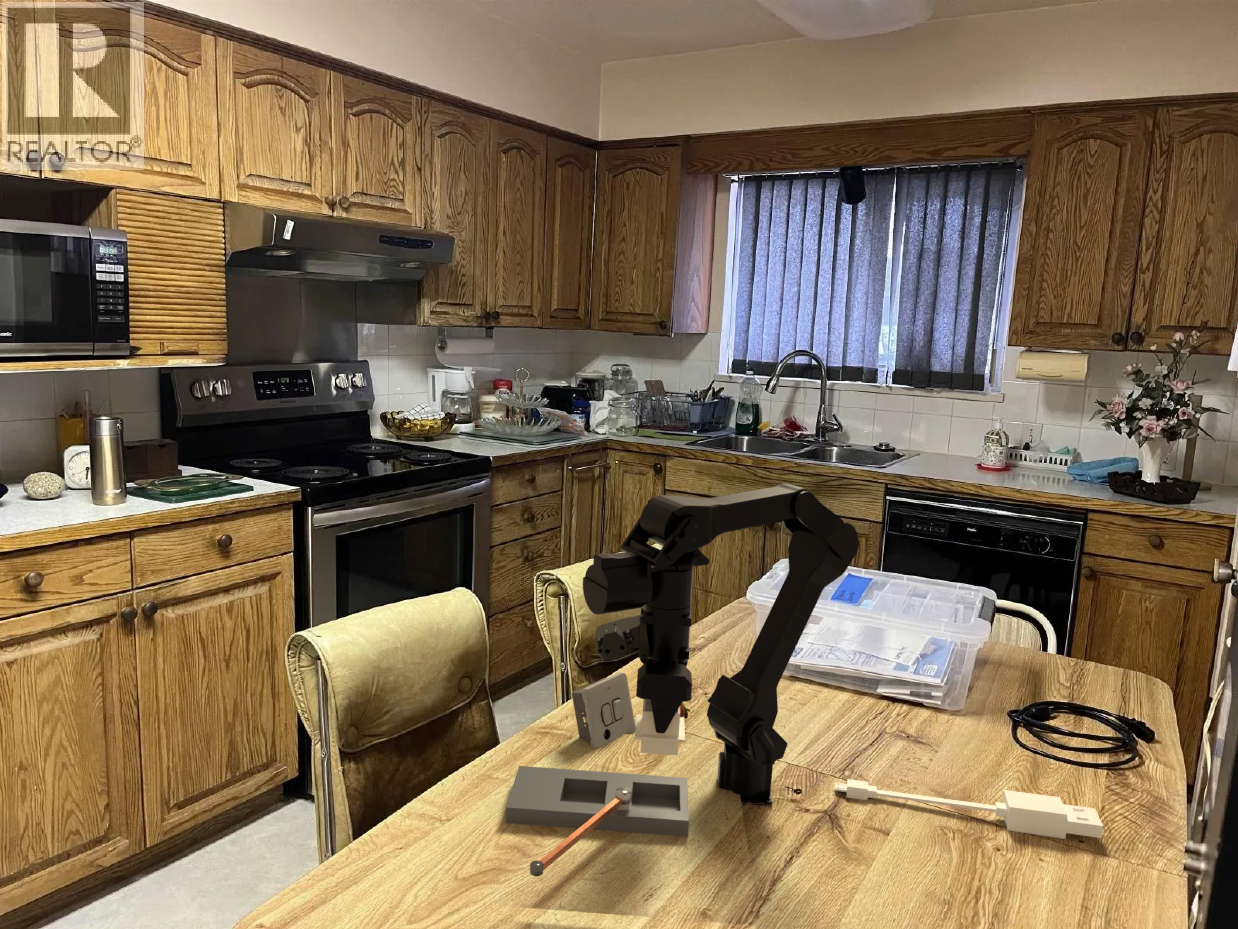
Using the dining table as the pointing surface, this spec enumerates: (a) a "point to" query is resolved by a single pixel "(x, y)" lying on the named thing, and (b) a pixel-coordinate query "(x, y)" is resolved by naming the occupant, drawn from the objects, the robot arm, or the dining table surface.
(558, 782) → the grey socket base
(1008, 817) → the charging cable
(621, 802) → the copper link
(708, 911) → the dining table surface
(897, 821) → the dining table surface
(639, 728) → the plug
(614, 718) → the electrical switch
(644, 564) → the robot arm
